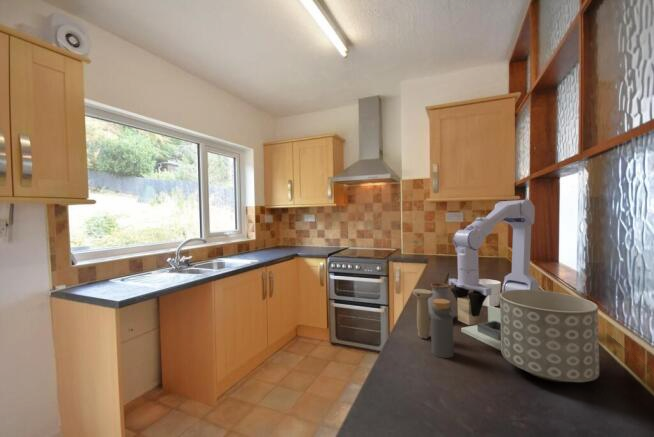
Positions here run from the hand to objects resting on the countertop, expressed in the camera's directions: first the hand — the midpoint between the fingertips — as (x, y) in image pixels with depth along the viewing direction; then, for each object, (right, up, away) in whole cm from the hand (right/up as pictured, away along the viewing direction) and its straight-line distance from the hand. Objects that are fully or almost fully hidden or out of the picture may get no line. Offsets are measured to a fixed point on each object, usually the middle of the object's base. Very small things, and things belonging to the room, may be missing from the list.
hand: (469, 313), depth 87 cm
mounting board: (+11, -9, +4) cm, 14 cm away
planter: (+11, -9, -17) cm, 22 cm away
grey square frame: (+11, -8, +4) cm, 14 cm away
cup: (+27, -9, +38) cm, 48 cm away
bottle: (-10, -10, -6) cm, 15 cm away
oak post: (0, -3, 0) cm, 3 cm away
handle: (-12, -10, +5) cm, 16 cm away
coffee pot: (+3, -9, +26) cm, 28 cm away
